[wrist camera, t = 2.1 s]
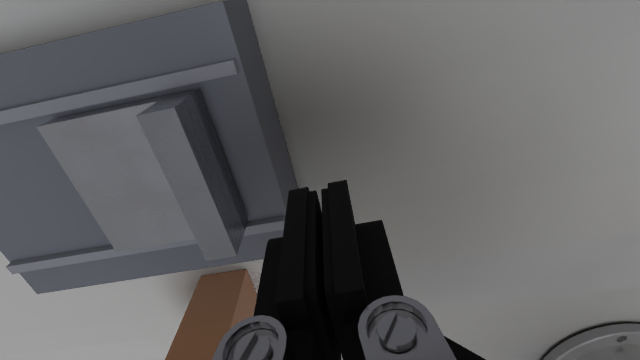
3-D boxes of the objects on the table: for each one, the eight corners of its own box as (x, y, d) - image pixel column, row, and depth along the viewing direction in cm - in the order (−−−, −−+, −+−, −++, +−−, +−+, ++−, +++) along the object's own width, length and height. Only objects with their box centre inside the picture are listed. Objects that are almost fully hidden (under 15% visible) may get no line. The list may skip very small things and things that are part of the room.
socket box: (303, 208, 25) (298, 258, 20) (83, 245, 27) (31, 299, 22) (245, -2, 19) (219, 1, 14) (-41, 66, 20) (-152, 89, 16)
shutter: (248, 220, 19) (236, 256, 17) (125, 240, 20) (95, 278, 18) (199, 88, 16) (174, 107, 13) (51, 119, 17) (0, 144, 14)
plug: (265, 304, 30) (242, 431, 22) (214, 311, 31) (171, 438, 22) (249, 264, 28) (216, 388, 19) (194, 273, 29) (138, 397, 20)
